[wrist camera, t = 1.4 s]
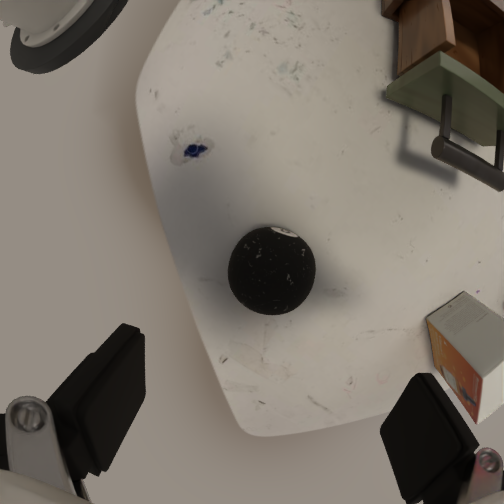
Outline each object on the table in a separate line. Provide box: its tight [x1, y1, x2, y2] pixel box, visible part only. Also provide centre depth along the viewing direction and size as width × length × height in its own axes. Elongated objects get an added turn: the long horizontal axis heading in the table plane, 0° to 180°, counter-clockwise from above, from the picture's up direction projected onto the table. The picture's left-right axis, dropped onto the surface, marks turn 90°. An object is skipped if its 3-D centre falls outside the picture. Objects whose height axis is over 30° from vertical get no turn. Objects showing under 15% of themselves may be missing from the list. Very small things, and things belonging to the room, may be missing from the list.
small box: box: [426, 292, 504, 424], centre depth 18 cm, size 8×6×10 cm
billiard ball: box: [228, 227, 316, 315], centre depth 19 cm, size 6×6×6 cm
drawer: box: [386, 0, 504, 192], centre depth 13 cm, size 18×11×8 cm, turn 169°
